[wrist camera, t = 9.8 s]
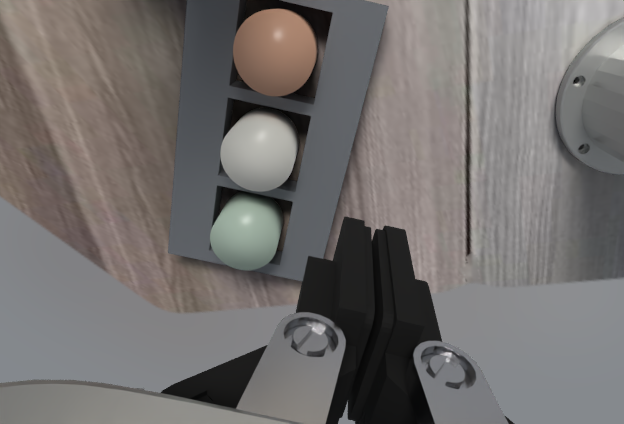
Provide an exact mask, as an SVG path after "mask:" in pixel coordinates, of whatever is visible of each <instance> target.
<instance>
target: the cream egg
mask: <svg viewBox="0 0 624 424" xmlns="http://www.w3.org/2000/svg"><path fill="white" fill-rule="evenodd" d="M298 149H299V135H298V131H297V129H296V127H295V125H294V123H293V122H292V121H291V119H290V118H289V117H288V116H286V115H285V114H284V113H282V112H280V111H278V110H276V109H272V108H256V109H253V110H251V111H249V112H247V113H246V114H244V115H243V116H242V117H241V118H240V119H239V120H238V122H237V123H236V124H235V125H234V126H233V127H232V128H231V130H230V131H229V132H228V133H227V134H226V136H225V138H224V140H223V142H222V145H221V152H220V156H221V162H222V165H223V168H224V170H225V172H226V173H227V175H228V176H229V177H230V179H231V180H232V181H234V182H235V183H236V184H237V185H239V186H241V187H242V188H245V189H247V190H251V191H256V192H263V191H269V190H272V189H275V188H277V187H279V186H280V185H282V184H283V183H284V182H285V181H286V180H287V179H288V177H289V176H290V174H291V172H292V169H293V166H294V162H295V159H296V156H297V152H298Z"/></svg>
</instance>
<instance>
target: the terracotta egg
mask: <svg viewBox="0 0 624 424" xmlns="http://www.w3.org/2000/svg"><path fill="white" fill-rule="evenodd" d="M317 56H318V41H317V37H316V34H315V31H314V29H313V27H312V26H311V24H310V23H309V22H308V21H307V20H306V19H305V18H304V17H303V16H302V15H300V14H299V13H297V12H295V11H293V10H289V9H284V8H278V9H268V10H263V11H259V12H257V13H255V14H253V15H251V16H250V17H249V18H247V19H246V20H245V21H244V22H243V24H242V25H241V26H240V28H239V29H238V31H237V34H236V36H235V39H234V44H233V57H234V63H235V66H236V69H237V71H238V73H239V75H240V76H241V78H242V79H243V80H244V82H245V83H246V84H247V85H248V86H249V87H251V88H252V89H253V90H255V91H257V92H259V93H261V94H264V95H267V96H284V95H288V94H290V93H293V92H294V91H296V90H298V89H299V88H300V87H301V86H302V85H303V84H304V83H305V82H306V81H307V79H308V78H309V76H310V74H311V72H312V70H313V68H314V65H315V63H316V60H317Z"/></svg>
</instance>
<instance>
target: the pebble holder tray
mask: <svg viewBox="0 0 624 424" xmlns="http://www.w3.org/2000/svg"><path fill="white" fill-rule="evenodd" d="M281 1H285V2H290V3H294V4H298V5H302V6H307V7H311V8H315V9H320V10H324V11H328V12H333V15H332V19H331V24H330V29H329V34H328V38H327V43H326V48H325V53H324V57H323V62H322V67H321V72H320V76H319V81H318V86H317V91H316V95H315V98H311V97H307V96H302V95H298V94H294V93H290V94H288V95H284V96H267V95H264V94H261V93H259V92H257V91H255V90H253V89H252V88H251V87H249V86H248V85H247V84H246V83H245V82H240V81H236V79H237V69H236V66H235V63H234V57H233V44H234V39H235V36H236V34H237V31H238V29H239V28H240V26H241V25H242V24H243V22H244V17H245V9H246V2H247V0H187V7H186V20H185V33H184V47H183V60H182V73H181V87H180V100H179V113H178V127H177V140H176V153H175V167H174V180H173V193H172V207H171V220H170V233H169V247H168V253H170V254H175V255H179V256H184V257H189V258H194V259H198V260H203V261H208V262H213V263H217V264H222V265H226V264H225V263H223V262H222V261H221V260H220V259H219V258H218V257H217V256H216V254H215V253H214V251H213V249H212V247H211V243H210V233H211V229H212V227H213V225H214V223H215V222H216V220H217V218H218V216H219V210H220V202H221V195H222V187H228V188H232V189H237V190H241V191H246V192H251V193H255V194H260V195H264V196H269V197H274V198H278V199H283V200H288V201H292V202H293V205H292V210H291V214H290V219H289V224H288V229H287V233H286V238H285V243H284V248H283V251H278V250H276V253H275V255H274V257H273V258H272V260H271V261H270V262H269V263H268V264H266V265H265V266H263V267H261V268H258V269H255V270H251V271H255V272H260V273H265V274H270V275H274V276H279V277H284V278H289V279H293V280H298V281H303V277H304V273H305V268H306V264H307V259H308V256H312V257H317V258H322V259H323V257H324V253H325V249H326V245H327V241H328V238H329V234H330V230H331V226H332V222H333V218H334V215H335V211H336V207H337V203H338V199H339V195H340V192H341V188H342V184H343V180H344V176H345V172H346V168H347V165H348V161H349V157H350V153H351V149H352V145H353V142H354V138H355V134H356V130H357V126H358V122H359V119H360V115H361V111H362V107H363V103H364V99H365V95H366V92H367V88H368V84H369V80H370V76H371V72H372V69H373V65H374V61H375V57H376V53H377V49H378V46H379V42H380V38H381V34H382V30H383V26H384V22H385V19H386V15H387V11H388V7H389V6H386V5H382V4H377V3H373V2H369V1H365V0H281ZM234 99H237V100H241V101H246V102H250V103H255V104H259V105H263V106H268V107H272V108H277V109H281V110H286V111H290V112H295V113H299V114H304V115H308V116H311V119H310V124H309V129H308V133H307V138H306V143H305V148H304V152H303V157H302V162H301V167H300V171H299V176H298V181H294V180H289V179H287V180H286V181H285V182H284V183H283V184H282V185H280V186H279V187H277V188H275V189H272V190H269V191H263V192H256V191H251V190H247V189H245V188H242V187H241V186H239V185H237V184H236V183H235V182H234V181H232V180H231V179H230V177H229V176H228V175H227V173H226V172H225V170H224V168H223V165H222V162H221V156H220V152H221V145H222V142H223V140H224V138H225V136H226V134H227V133H228V132H229V131H230V125H231V117H232V110H233V102H234ZM227 266H228V265H227Z"/></svg>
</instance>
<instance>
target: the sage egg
mask: <svg viewBox="0 0 624 424" xmlns="http://www.w3.org/2000/svg"><path fill="white" fill-rule="evenodd" d="M282 227H283V213H282V210H281V208H280V206H279V205H278V203H277V202H276V201H275V200H274V199H273V198H272V197H269V196H264V195H260V194H255V193H251V192H246V191H241V192H238V193H236V194H235V195H233V196H232V197H231V198H230V199H229V200H228V201H227V203H226V204H225V206H224V208H223V209H222V211H221V213H220V215H219V216H218V218H217V220H216V222H215V223H214V225H213V227H212V229H211V233H210V243H211V247H212V249H213V251H214V253H215V254H216V256H217V257H218V258H219V259H220V260H221V261H222V262H223V263H225V264H226V265H228V266H230V267H232V268H235V269H239V270H255V269H258V268H261V267H263V266H265V265H266V264H268V263H269V262H270V261H271V260H272V258H273V257H274V255H275V253H276V249H277V246H278V242H279V238H280V234H281V230H282Z"/></svg>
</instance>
